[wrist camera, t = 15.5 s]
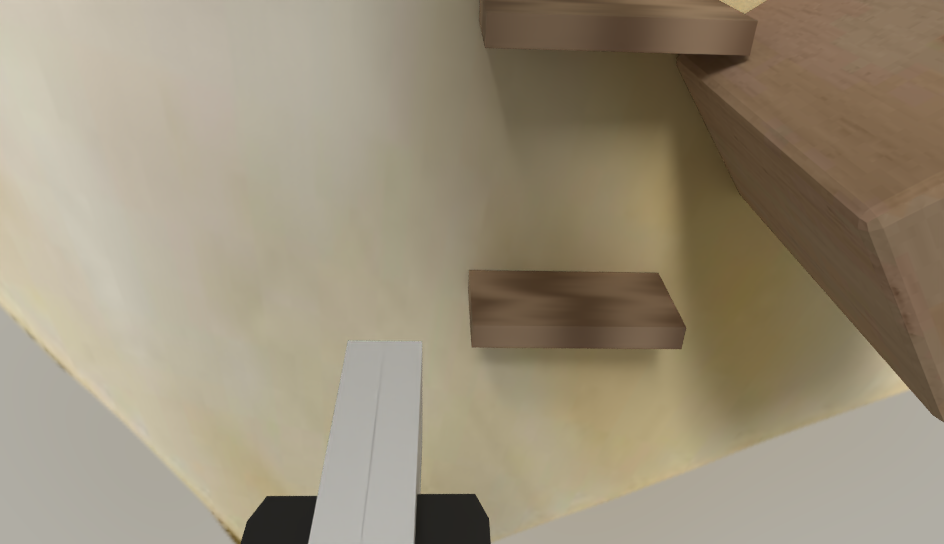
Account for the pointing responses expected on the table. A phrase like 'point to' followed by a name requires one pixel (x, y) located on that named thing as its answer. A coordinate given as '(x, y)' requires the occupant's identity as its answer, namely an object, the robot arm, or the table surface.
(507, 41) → the parallel wooden walls
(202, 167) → the table surface
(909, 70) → the wooden block
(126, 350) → the table surface
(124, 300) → the table surface
